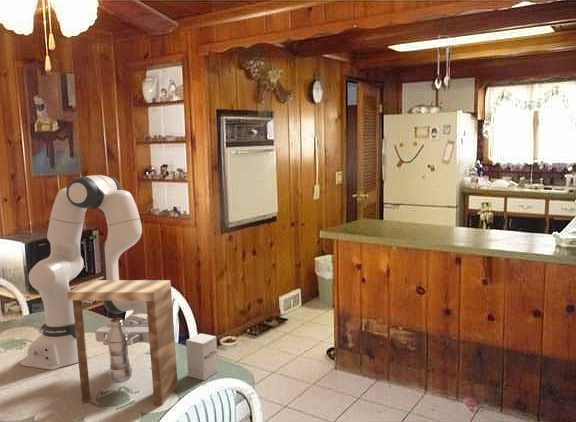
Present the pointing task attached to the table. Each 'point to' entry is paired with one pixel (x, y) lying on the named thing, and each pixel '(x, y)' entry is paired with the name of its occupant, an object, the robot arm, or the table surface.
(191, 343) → the supplement box
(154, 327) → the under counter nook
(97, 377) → the table surface
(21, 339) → the table surface
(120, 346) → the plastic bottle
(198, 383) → the table surface
